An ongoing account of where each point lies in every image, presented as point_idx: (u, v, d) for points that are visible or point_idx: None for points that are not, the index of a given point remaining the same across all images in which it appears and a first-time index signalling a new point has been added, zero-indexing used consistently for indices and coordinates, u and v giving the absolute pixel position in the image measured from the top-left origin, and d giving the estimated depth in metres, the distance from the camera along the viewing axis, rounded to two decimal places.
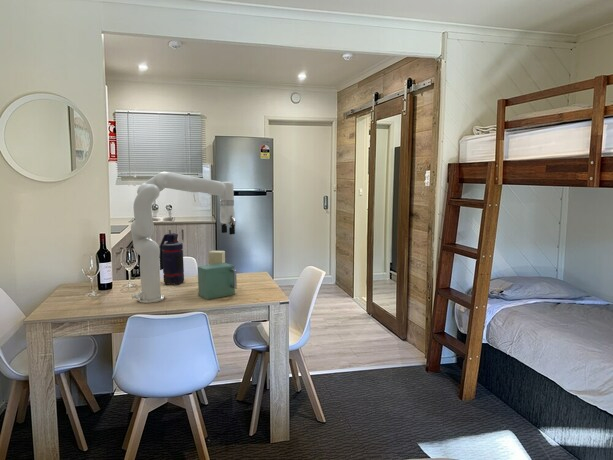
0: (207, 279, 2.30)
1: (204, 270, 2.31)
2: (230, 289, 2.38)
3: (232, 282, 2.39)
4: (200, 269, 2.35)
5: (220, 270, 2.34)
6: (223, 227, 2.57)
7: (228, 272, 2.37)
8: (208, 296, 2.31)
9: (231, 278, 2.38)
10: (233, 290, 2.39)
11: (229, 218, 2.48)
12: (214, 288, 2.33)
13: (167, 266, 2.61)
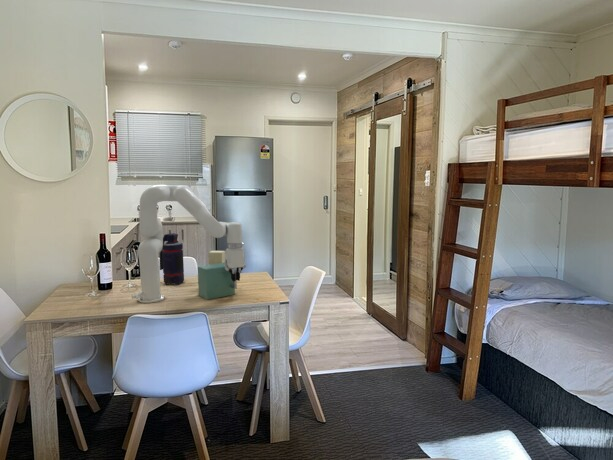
0: (207, 279, 2.30)
1: (204, 270, 2.31)
2: (230, 289, 2.38)
3: (232, 282, 2.39)
4: (200, 269, 2.35)
5: (220, 270, 2.34)
6: (236, 274, 2.34)
7: (228, 272, 2.37)
8: (208, 296, 2.31)
9: None
10: (233, 290, 2.39)
11: None
12: (214, 288, 2.33)
13: (167, 266, 2.61)
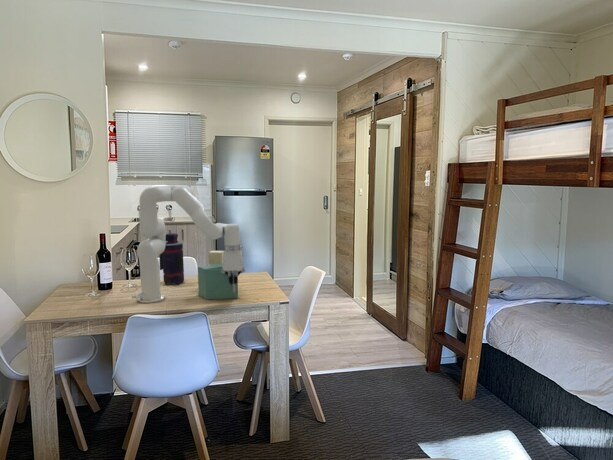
0: (207, 279, 2.30)
1: (204, 270, 2.31)
2: (232, 292, 2.32)
3: (235, 285, 2.32)
4: (200, 269, 2.35)
5: None
6: None
7: None
8: (208, 296, 2.31)
9: None
10: (236, 293, 2.33)
11: None
12: (214, 289, 2.31)
13: (167, 266, 2.61)
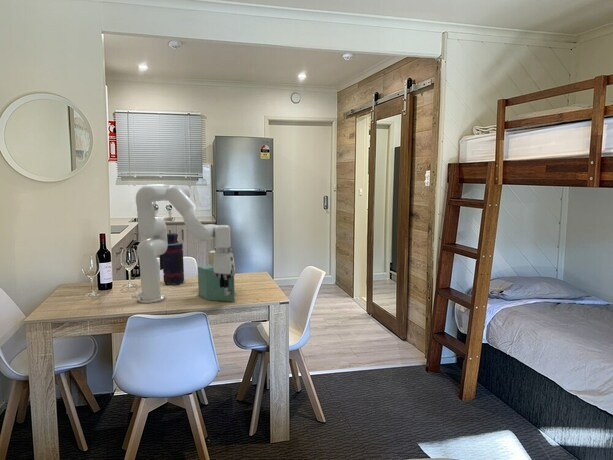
0: (206, 279, 2.29)
1: (204, 270, 2.31)
2: (229, 295, 2.26)
3: (231, 288, 2.25)
4: (200, 269, 2.35)
5: None
6: None
7: None
8: (207, 296, 2.30)
9: (230, 284, 2.25)
10: (232, 297, 2.26)
11: None
12: (213, 290, 2.29)
13: (167, 266, 2.61)
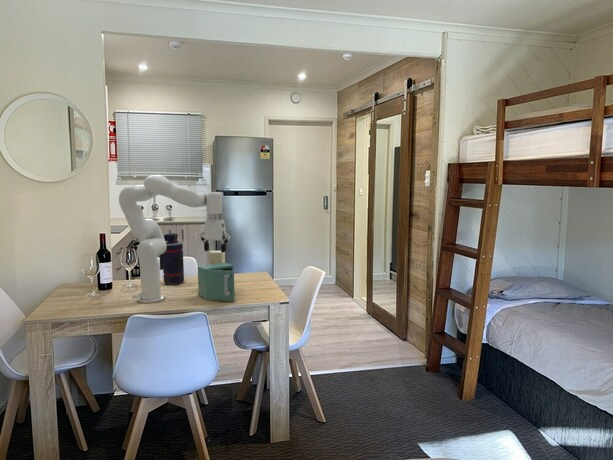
0: (206, 279, 2.29)
1: (204, 270, 2.31)
2: (229, 295, 2.26)
3: (231, 288, 2.25)
4: (200, 269, 2.35)
5: (219, 273, 2.26)
6: None
7: None
8: (207, 296, 2.30)
9: (230, 284, 2.25)
10: (232, 297, 2.26)
11: None
12: (213, 290, 2.29)
13: (167, 266, 2.61)
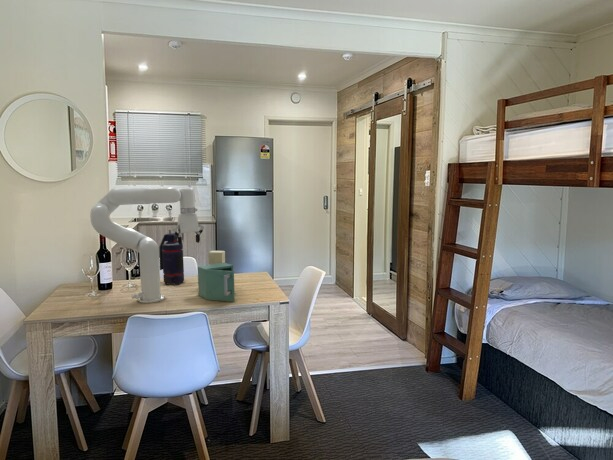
0: (206, 279, 2.29)
1: (204, 270, 2.31)
2: (229, 295, 2.26)
3: (231, 288, 2.25)
4: (200, 269, 2.35)
5: (219, 273, 2.26)
6: (196, 236, 2.40)
7: None
8: (207, 296, 2.30)
9: (230, 284, 2.25)
10: (232, 297, 2.26)
11: None
12: (213, 290, 2.29)
13: (167, 266, 2.61)
